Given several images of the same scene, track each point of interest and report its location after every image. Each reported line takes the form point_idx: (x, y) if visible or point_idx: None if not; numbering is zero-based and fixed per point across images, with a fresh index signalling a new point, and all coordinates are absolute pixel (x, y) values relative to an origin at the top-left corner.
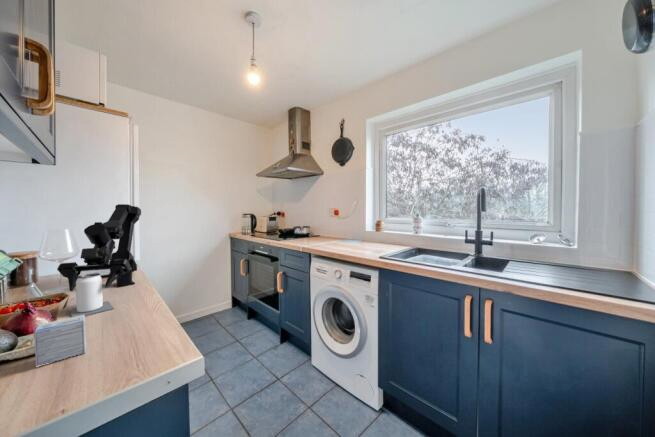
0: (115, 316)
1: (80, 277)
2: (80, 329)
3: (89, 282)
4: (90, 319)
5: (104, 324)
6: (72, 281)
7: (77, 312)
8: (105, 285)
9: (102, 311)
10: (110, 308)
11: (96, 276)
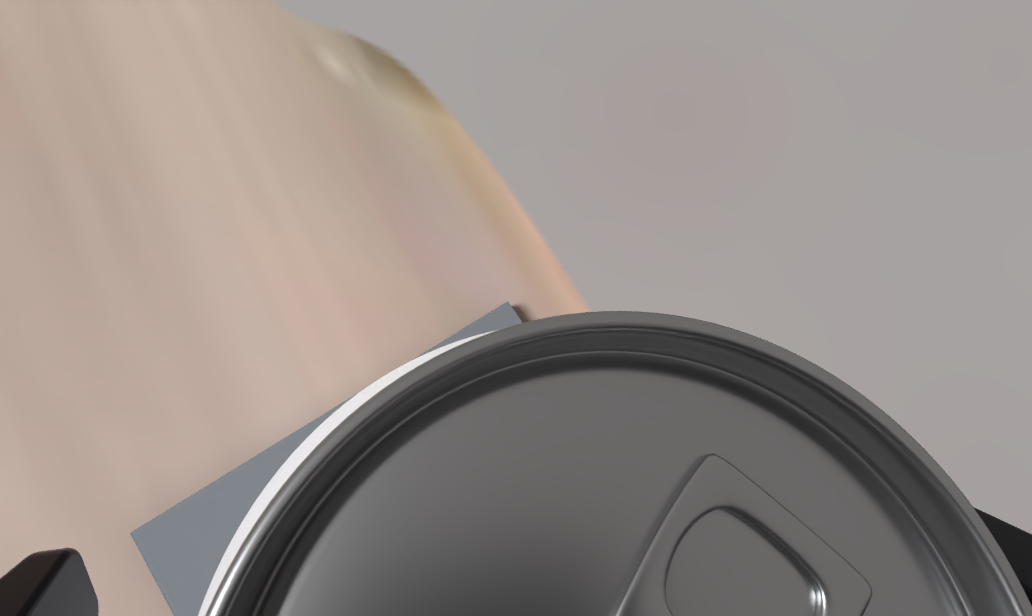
0: (24, 237)
1: (902, 607)
2: None
3: (409, 365)
4: (298, 241)
5: (78, 51)
6: (1029, 589)
7: None
8: (52, 553)
9: (258, 456)
10: (174, 526)
11: (230, 599)
